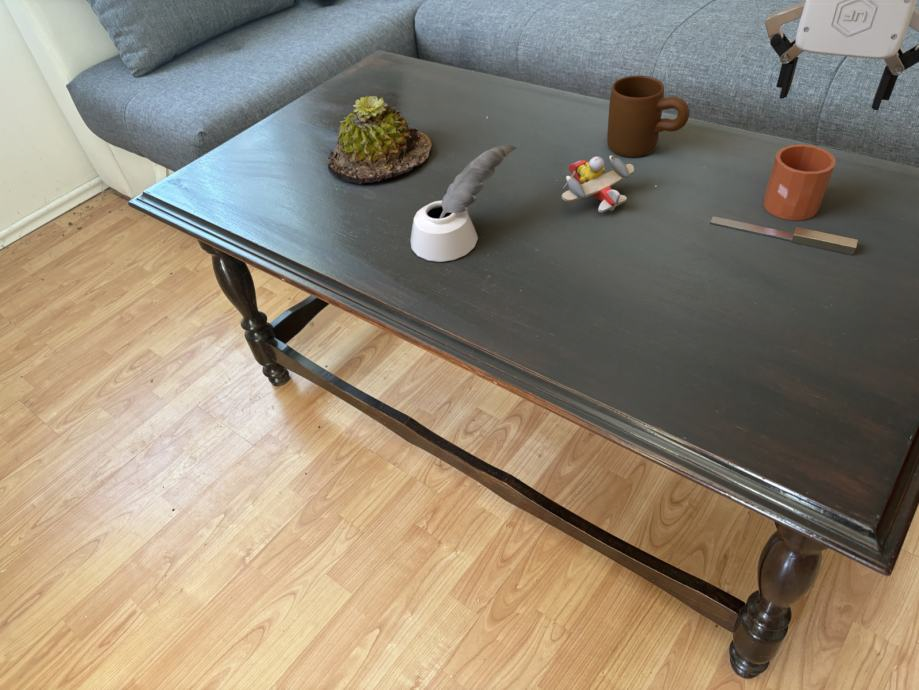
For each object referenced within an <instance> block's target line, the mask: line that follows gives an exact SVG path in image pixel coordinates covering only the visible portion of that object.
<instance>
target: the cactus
mask: <svg viewBox="0 0 919 690" xmlns="http://www.w3.org/2000/svg"><path fill="white" fill-rule="evenodd" d="M352 107H353V108H355V109H353V110H352V111H353V112H350V113H349V114H348V115H347V116H346V117H345V116H343V118H344V120H340V126H339V129H338V131H339V132H338V135H337V136H338V138H337V142H336V146H335V148H334V149H332V150H331V151H330V152H329V156H328V157H327V167H328V171H329V173H330V174H331V175H333V176H334V177H335V178H336V179H338V180H340V181H342V182H347V183H355V184H356V185H357V184H358V185H362V184H367V183H368V184H369V183H370V184H371V183H375V182H380V181H382V180H383V181H384V180H387V179H388V178H389V179H391V178H396V177H397V176H400V175H403V174H404V173H405V174H407V173H408V172H410V171H412V170H413V168H416V167H419V166H421V165H422V164H423V163H424V162H426V160H427V159H428V158H429V155H430V152H431V149H432V145H433V144H432V141H431V139H430V137H429V136H428V134H426V133H424V132H422V131H420V130H419V129H417V128H415V127H414V128H411V127H409V125H410V123H408V122H407V119H406V117H404V116H403V115H401V111H397V109H395V107H392V105H390V106H389V105H388V103H387V102H385V101H384V98H383V97H382V96H381V97H380V98H378V96H376V95H372V96H371V95H365V97H364V96H361V97H360V99H356V100H355V104H353V105H352Z"/></svg>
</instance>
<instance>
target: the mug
mask: <svg viewBox="0 0 919 690" xmlns="http://www.w3.org/2000/svg"><path fill="white" fill-rule="evenodd" d="M608 105H609V106H608V119H607V133H606V134H607V135H606V144H607V147H608V149H609V150H610V151H611V152H612V153H614V154H615V155H618V156H621V157H625V158H639V157H644V156H647V155H648V154H651V153H652V152H653V151H654V150H656V147H657V145H658V141H659V137H660V135H659V134H660V133H661V132H677V131H679V130H681V129H683V128H684V127H685V126H686V124H687V123H688V121H689V118H690V108H689V105H688V103H687V102H686V101H685V100H684V99H683V98H681V97H678V96H667V97H665V85H664V83H663V82H662V81H661V80H660V79H658V78H655V77H653V76H649V75H640V74H639V75H627V76H625V77H622V78H619V79H617V80H616V81H614V82H613V84H612V86H611V91H610V96H609V104H608ZM672 109H673V110H676V111H677V116H676V117H675V118H673V119H672V118H666V117H665V118H662V115H663V111H664V110H672Z"/></svg>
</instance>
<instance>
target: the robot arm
mask: <svg viewBox="0 0 919 690" xmlns="http://www.w3.org/2000/svg"><path fill="white" fill-rule="evenodd" d="M917 2H918V0H803V1H801V2H799V3H796V4H794V5H791V6H789V7H786V8H783V9H780V10H778V11H776V12H773V13H770V14H769V15H768V16H767V18H766V19H765V21H764V25H765V29H766V33H767V37H768V38H769V44H770V46H771V48H772V49H773V51H774V52H775V53H776V54H777V56H778V57H779V62H780V63H781V66H780V69H779V73H778V78H777V82H776V85H775V86H776V88H778V89H781V90H780V94H779V98H778V99H783V100H784V99H785V98H786V99H787V97H788V95H789V93H790V90H791V87H792V83H793V80H794V76H795V73H796V68H797V65H798V61H799V56H800V55H801V54H802V53H804V52H806V53H811V54H817V55H829V56H837V57H838V56H839V57H847V58H858V59H859V58H860V59H868V60H869V59H870V60H883V61H884V62H885V66H884V69H883V72H882V74H881V78H880V80H879V83H878V86H877V88H876V90H875V94H874V97H873V100H872V104H871V109H872V110H873V111H879V110H880V106H881V104H882V102H883V101H890V98H891V96H892V94H893V91H894V88H895V85H896V83H897V80H898V78H899V76H900V75H902V74H903V73H904V71H906V70H908V69H909V68H911V67H913V66H915V65H916V64H918V63H919V43H918V44H916V45H914V46H913V47H911V48H910V49H908V50H906V51H905V52H904V50H903V48H902V45H903V43H904V40H905V37H906V35H907V32H908V29H909V28H911V29H913V30H914V31H916V32H918V33H919V9H918V8H917V7H916V5H917ZM798 19H800V20H799V23H798V27H797V30H796V36H795V38H794V39H792V40H791V41H790V40H789V38H788V37H787V35H786V34H785V33H784V32H783V27H782V26H783V25H785V24H788V23H791V22H793V21H796V20H798Z"/></svg>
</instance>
